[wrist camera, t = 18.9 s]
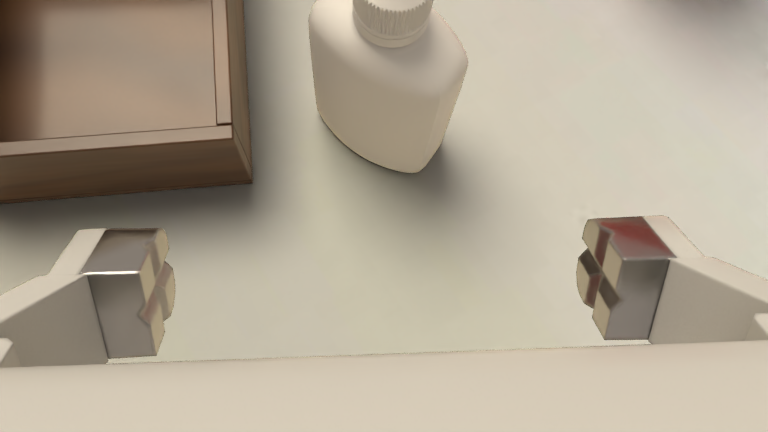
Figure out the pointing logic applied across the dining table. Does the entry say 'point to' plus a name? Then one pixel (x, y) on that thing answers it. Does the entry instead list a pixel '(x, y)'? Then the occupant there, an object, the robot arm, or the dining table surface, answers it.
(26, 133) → the wooden box
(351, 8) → the eye dropper bottle
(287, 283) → the dining table surface
